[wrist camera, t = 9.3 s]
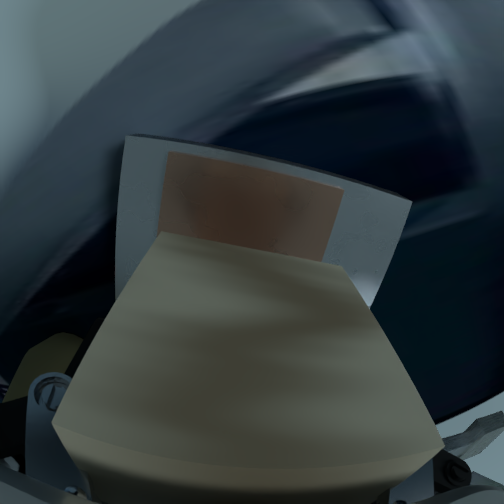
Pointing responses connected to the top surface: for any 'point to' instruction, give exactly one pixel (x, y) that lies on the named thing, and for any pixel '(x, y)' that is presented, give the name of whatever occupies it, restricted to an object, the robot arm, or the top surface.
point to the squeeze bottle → (43, 362)
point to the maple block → (242, 386)
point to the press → (253, 208)
